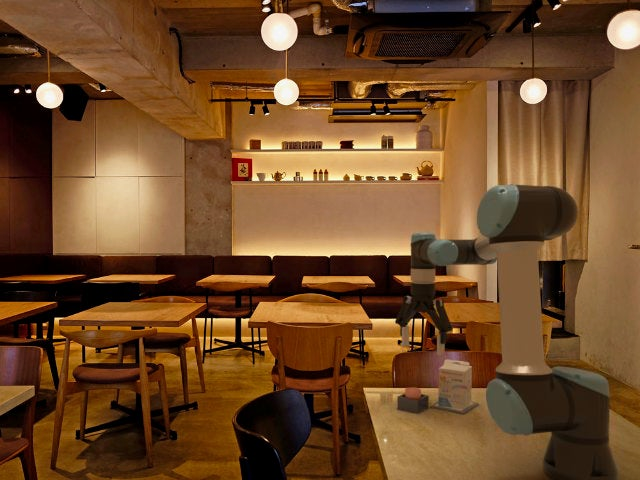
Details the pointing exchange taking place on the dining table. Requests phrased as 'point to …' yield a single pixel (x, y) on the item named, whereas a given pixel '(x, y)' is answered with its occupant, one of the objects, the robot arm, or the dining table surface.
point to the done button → (413, 393)
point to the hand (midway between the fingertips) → (422, 350)
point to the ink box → (455, 384)
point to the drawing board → (455, 410)
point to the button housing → (413, 404)
